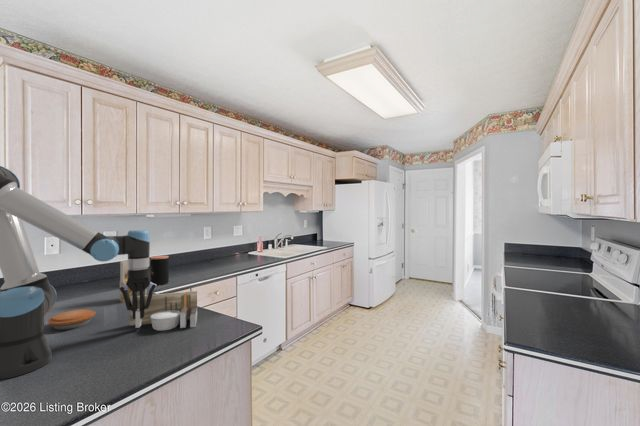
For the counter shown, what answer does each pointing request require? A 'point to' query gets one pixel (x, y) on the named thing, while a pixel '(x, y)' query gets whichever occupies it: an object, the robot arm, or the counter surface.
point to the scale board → (165, 304)
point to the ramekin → (165, 320)
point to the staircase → (125, 279)
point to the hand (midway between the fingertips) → (138, 326)
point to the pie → (71, 319)
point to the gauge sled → (184, 313)
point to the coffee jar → (160, 270)
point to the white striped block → (193, 317)
